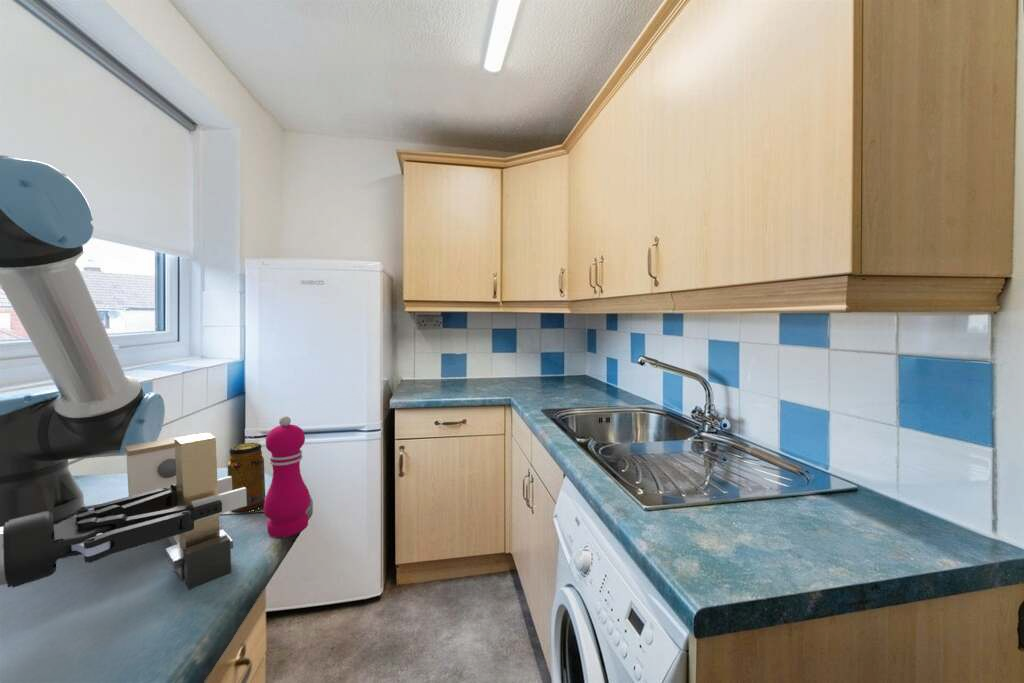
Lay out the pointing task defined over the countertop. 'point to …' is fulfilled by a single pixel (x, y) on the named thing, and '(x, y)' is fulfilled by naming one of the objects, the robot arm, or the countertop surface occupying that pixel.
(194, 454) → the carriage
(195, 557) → the rail
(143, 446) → the end cabinet
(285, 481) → the pepper mill
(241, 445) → the condiment
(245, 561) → the countertop surface
